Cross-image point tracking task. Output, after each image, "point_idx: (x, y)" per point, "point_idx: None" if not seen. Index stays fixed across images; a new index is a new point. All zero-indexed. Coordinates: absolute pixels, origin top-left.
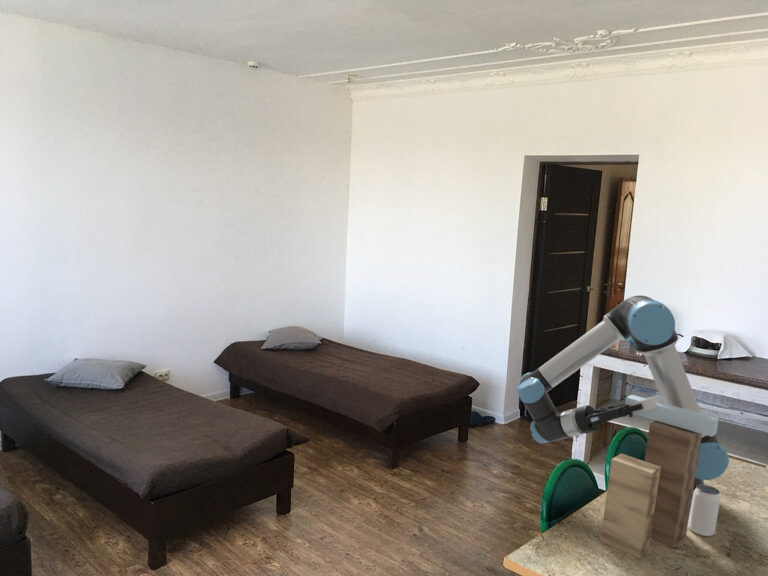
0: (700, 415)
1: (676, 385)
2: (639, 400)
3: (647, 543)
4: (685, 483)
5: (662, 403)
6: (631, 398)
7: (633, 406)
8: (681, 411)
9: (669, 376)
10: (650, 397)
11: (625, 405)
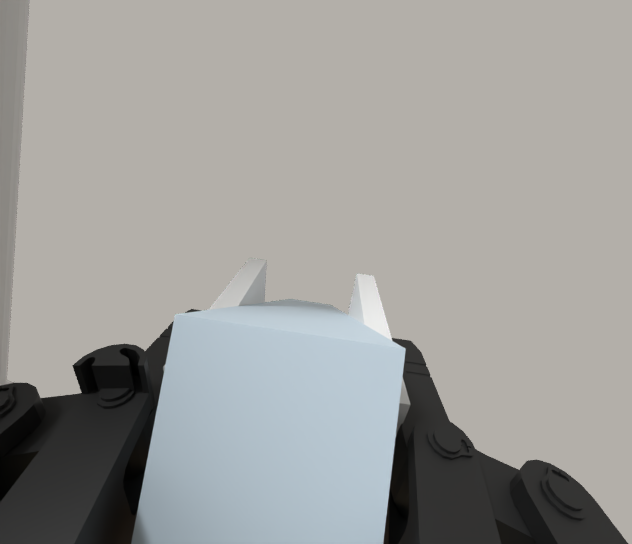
0: (313, 303)
1: (12, 207)
2: (355, 324)
3: None
4: None
5: (277, 304)
6: (379, 335)
7: (432, 389)
8: (328, 307)
9: (2, 141)
10: (249, 288)
11: (459, 453)
